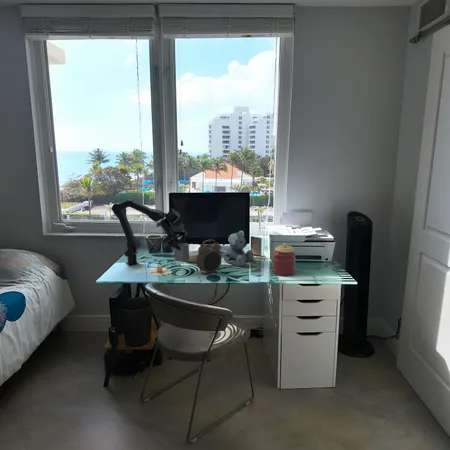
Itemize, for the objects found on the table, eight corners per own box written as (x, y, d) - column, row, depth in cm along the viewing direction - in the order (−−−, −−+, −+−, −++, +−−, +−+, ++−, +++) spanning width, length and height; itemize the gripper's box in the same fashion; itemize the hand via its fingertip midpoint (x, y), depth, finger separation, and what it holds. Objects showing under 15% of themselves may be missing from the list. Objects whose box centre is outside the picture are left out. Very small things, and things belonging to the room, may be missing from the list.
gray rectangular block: (174, 260, 207) (174, 244, 205) (180, 257, 212) (180, 242, 210) (183, 262, 204) (182, 246, 202) (189, 259, 209) (188, 243, 207)
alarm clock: (202, 277, 197) (201, 243, 192) (195, 274, 202) (195, 240, 198) (223, 272, 205) (223, 239, 201) (216, 269, 211) (216, 236, 206)
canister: (278, 277, 198) (279, 247, 194) (269, 269, 210) (270, 241, 206) (299, 275, 201) (300, 245, 197) (289, 267, 213) (290, 239, 209)
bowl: (175, 257, 233) (175, 245, 231) (198, 254, 240) (198, 242, 238) (183, 264, 219) (183, 252, 217) (207, 261, 226) (207, 249, 224)
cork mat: (146, 271, 206) (146, 271, 206) (163, 268, 212) (163, 267, 212) (155, 277, 197) (154, 276, 197) (172, 273, 203) (172, 272, 203)
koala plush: (242, 267, 213) (242, 236, 209) (217, 262, 222) (217, 232, 218) (255, 260, 227) (255, 230, 223) (231, 255, 237) (231, 227, 232)
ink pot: (155, 271, 205) (155, 266, 204) (160, 270, 207) (160, 265, 206) (158, 273, 202) (158, 267, 202) (163, 271, 204) (163, 266, 203)
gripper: (165, 222, 197) (181, 244, 194) (185, 216, 212) (200, 237, 210) (154, 234, 202) (170, 255, 199) (175, 228, 218) (189, 247, 215)
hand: (183, 248), depth 206 cm, fingers closed on gray rectangular block, 6 cm apart
